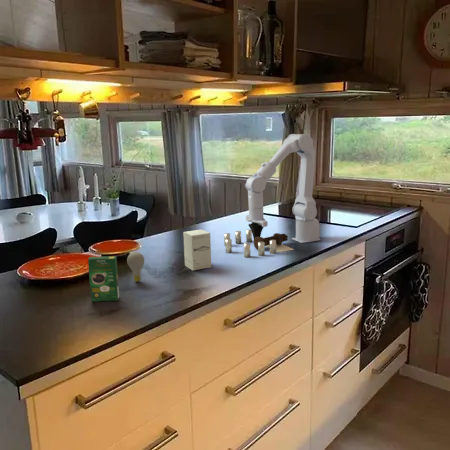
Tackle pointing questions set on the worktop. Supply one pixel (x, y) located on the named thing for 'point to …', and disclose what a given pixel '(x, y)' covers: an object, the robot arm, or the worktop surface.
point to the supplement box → (197, 249)
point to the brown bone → (276, 236)
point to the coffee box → (103, 278)
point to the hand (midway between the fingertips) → (257, 240)
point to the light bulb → (136, 264)
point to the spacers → (248, 244)
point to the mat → (281, 248)
